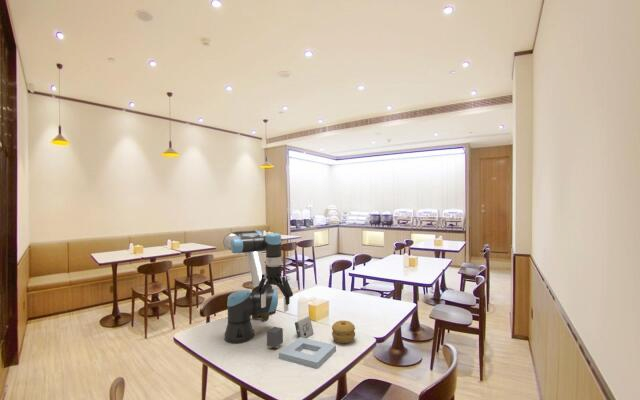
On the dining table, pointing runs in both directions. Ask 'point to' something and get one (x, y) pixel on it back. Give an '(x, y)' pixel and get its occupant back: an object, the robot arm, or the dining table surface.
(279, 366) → the dining table surface
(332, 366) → the dining table surface
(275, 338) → the plug
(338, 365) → the dining table surface
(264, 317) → the kendama
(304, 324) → the electrical switch
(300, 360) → the socket plate
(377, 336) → the dining table surface
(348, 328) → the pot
